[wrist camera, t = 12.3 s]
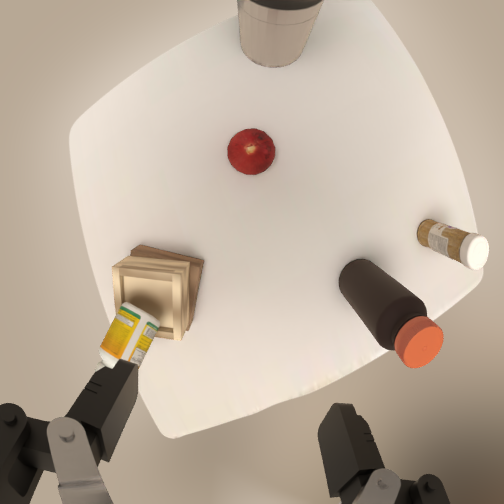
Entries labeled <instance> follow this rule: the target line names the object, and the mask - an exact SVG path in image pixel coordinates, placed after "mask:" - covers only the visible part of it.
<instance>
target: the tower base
mask: <svg viewBox="0 0 504 504" xmlns="http://www.w3.org/2000/svg"><path fill="white" fill-rule="evenodd" d="M130 256H136V257H146V258H156V259H166V260H176V261H186V262H190V280H189V324H188V326H187V328H186V331H189V328H190V326H191V323H192V321H193V316H194V310H195V305H196V299H197V294H198V289H199V283H200V278H201V273H202V268H203V263H204V260H201V259H197V258H192V257H188V256H184V255H180V254H176V253H172V252H168V251H164V250H160V249H156V248H152V247H148V246H144V245H139V246H137V247H136V248H134V249H133V250H131V255H130Z"/></svg>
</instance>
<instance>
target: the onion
mask: <svg viewBox="0 0 504 504" xmlns="http://www.w3.org/2000/svg"><path fill="white" fill-rule="evenodd" d="M274 158H275V147H274V144H273V141H272V139H271V138H270V137H269V136H268V135H267V134H266V133H265V132H264V131H261V130H258V129H245V130H243V131H240V132H238V133H237V134H236V135H235V136H234V137H233V138H232V139H231V141H230V143H229V145H228V159H229V161H230V163H231V165H232V166H233V167H234V168H235V169H236V170H237V171H239V172H242V173H244V174H248V175H256V174H259V173H261V172H264V171H265V170H266V169H267V168H268V167H269V166H270V165H271V164H272V162H273V160H274Z"/></svg>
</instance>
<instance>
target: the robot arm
mask: <svg viewBox="0 0 504 504" xmlns="http://www.w3.org/2000/svg"><path fill="white" fill-rule="evenodd" d="M323 1H324V0H237V2H238V15H239V27H240V41H241V47H242V50H243V52H244V54H245V55H246V56H247V57H248V58H249V59H250V60H251V61H253V62H255V63H256V64H259V65H261V66H265V67H283V66H287V65H289V64H291V63H293V62H294V61H296V60H297V59H298V58H299V57H300V55H301V53H302V51H303V49H304V47H305V44H306V42H307V40H308V37H309V35H310V32H311V30H312V27H313V25H314V23H315V20H316V18H317V16H318V13H319V11H320V8H321V6H322V4H323ZM137 394H138V364H135V363H132V362H129V361H126V360H123V359H119V360H118V361H117V363H116V364H115V366H114V367H113V369H112V368H109V367H106V366H105V367H103V368H101V369H99V370H98V371H96V372H95V373H94V375H93V376H92V377H91V379H90V381H89V382H88V383H87V385H86V386H85V389H83V391H82V392H81V394H80V395H79V397H78V398H77V399H76V401H75V403H74V404H73V406H72V407H71V409H70V410H69V412H68V413H67V414H66V416H65V417H59V418H56V419H54V420H52V421H51V422H47V421H42V420H38V419H33V418H30V417H27V416H26V414H25V412H24V411H23V409H22V408H21V407H19V406H18V405H15V404H12V403H6V404H2V405H0V504H29V503H30V501H31V498H32V496H33V494H34V491H35V489H36V487H37V484H38V482H39V480H40V477H41V475H42V473H43V471H44V470H46V471H50V472H55V473H56V474H57V478H58V481H59V485H58V490H59V493H60V497H61V499H62V503H63V504H113V502H112V500H111V498H110V496H109V493H108V491H107V489H106V487H105V485H104V482H103V480H102V478H101V475H100V473H99V470H98V465H99V463H100V460H101V459H102V460H104V461H107V462H109V461H110V459H111V456H112V454H113V452H114V449H115V447H116V445H117V443H118V440H119V438H120V436H121V433H122V431H123V429H124V427H125V424H126V422H127V420H128V418H129V416H130V413H131V411H132V409H133V406H134V405H135V402H136V399H137ZM318 441H319V445H320V450H321V455H322V459H323V464H324V469H325V474H326V479H327V484H328V489H329V494H330V497H340V498H341V502H340V503H339V504H450V502H449V499H448V497H447V494H446V492H445V489H444V486H443V484H442V482H441V480H440V479H439V478H438V477H436V476H435V475H432V474H426V475H423V476H422V477H420V478H419V479H418V480H417V481H410V480H402V479H400V478H399V476H398V475H397V474H396V473H395V472H393V471H392V470H389V469H385V467H384V464H383V462H382V459H381V456H380V454H379V451H378V448H377V446H376V443H375V442H374V438H373V435H371V430H370V428H369V425H368V423H367V422H366V421H365V420H364V419H363V418H362V416H360V415H357V414H356V411H355V409H354V407H353V405H352V404H345V403H334V404H333V405H332V406H331V408H330V410H329V411H328V413H327V415H326V416H325V418H324V420H323V421H322V423H321V424H320V426H319V429H318Z"/></svg>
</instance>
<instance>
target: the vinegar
mask: <svg viewBox="0 0 504 504" xmlns="http://www.w3.org/2000/svg"><path fill="white" fill-rule="evenodd" d="M339 287H340V290H341V293H342V294H343V295H344V297H345V298H346V299H347V301H348V302H349V303H350V305H351V306H352V307H353V309H354V310H355V311H356V313H357V314H358V316H359V317H360V318H361V320H362V321H363V322H364V324H365V325H366V326H367V328H368V329H369V331H370V332H371V333H372V335H373V336H374V338H375V339H376V340H377V342H378V343H379V345H380V346H382V347H383V348H385V349H387V350H395V351H396V353H397V354H398V356H399V357H400V358H401V360H402V361H403V363H404V364H405V365H406V366H407V367H410V368H418V367H422V366H424V365H426V364H428V363H429V362H430V361H431V360H432V359H433V358H434V357H435V356H436V355H437V354H438V352H439V350H440V348H441V346H442V343H443V332H442V330H441V328H440V327H438V326H437V325H436V324H435V323H434V322H433V321H432V320H431V319H429V318H428V317H427V310H426V307H425V305H424V303H423V301H422V300H420V299H419V298H418V297H417V296H415V295H414V294H413V293H412V292H410V291H409V290H408V289H407V288H405V287H404V286H403V285H401V284H400V283H399V282H397V281H396V280H395V279H394V278H392V277H391V276H390V275H388V274H387V273H386V272H384V271H383V270H382V269H380V268H379V267H378V266H376V265H375V264H374V263H372V262H371V261H369V260H365V259H360V260H355V261H353V262H351V263H349V264H348V265H347V266H346V267H345V268H344V270H343V271H342V273H341V276H340V278H339Z"/></svg>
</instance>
